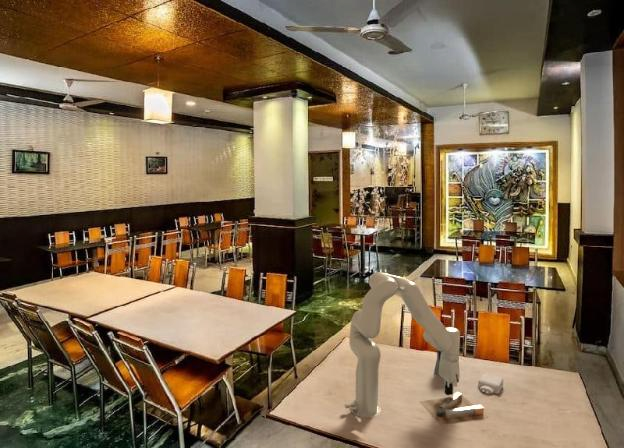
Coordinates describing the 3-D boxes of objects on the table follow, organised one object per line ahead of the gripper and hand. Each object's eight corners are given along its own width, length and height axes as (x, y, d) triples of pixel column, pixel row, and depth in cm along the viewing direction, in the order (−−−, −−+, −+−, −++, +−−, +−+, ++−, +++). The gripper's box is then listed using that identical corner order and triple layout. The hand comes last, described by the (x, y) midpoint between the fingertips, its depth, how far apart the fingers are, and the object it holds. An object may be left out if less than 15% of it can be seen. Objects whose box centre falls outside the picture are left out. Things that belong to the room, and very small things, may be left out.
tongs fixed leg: (447, 420, 169) (447, 413, 169) (444, 416, 172) (444, 409, 171) (483, 414, 173) (483, 407, 173) (479, 411, 176) (480, 404, 175)
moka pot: (456, 370, 216) (458, 333, 214) (449, 382, 203) (450, 343, 201) (438, 366, 221) (439, 330, 219) (429, 377, 208) (430, 339, 206)
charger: (474, 394, 193) (482, 381, 205) (495, 400, 187) (502, 387, 199) (474, 384, 192) (483, 372, 204) (495, 390, 187) (503, 378, 199)
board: (441, 427, 167) (441, 424, 166) (419, 404, 184) (419, 401, 184) (488, 420, 172) (488, 417, 172) (462, 397, 189) (463, 395, 189)
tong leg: (441, 417, 171) (441, 410, 171) (434, 414, 173) (434, 407, 173) (463, 400, 184) (463, 394, 184) (456, 397, 186) (457, 391, 186)
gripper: (433, 349, 192) (432, 387, 194) (452, 363, 178) (450, 403, 180) (448, 347, 194) (446, 385, 196) (467, 361, 180) (465, 401, 182)
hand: (448, 393), depth 188 cm, fingers closed
